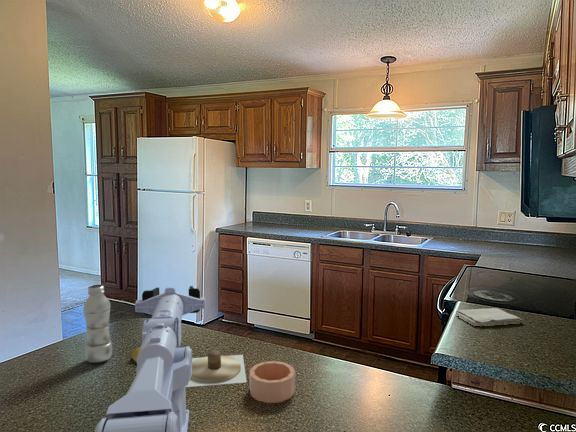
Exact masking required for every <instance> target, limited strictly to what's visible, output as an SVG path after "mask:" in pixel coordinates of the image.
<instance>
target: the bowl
mask: <svg viewBox="0 0 576 432" xmlns="http://www.w3.org/2000/svg"><path fill="white" fill-rule="evenodd" d="M249 393H250V397H252V398H254V400H256V401H258V402H262V403H267V404H273V403H274V404H275V403H283V402H284V401H287V400H289V399H291V398H292V397H293V396H294V394H295V393H296V370H295V369H294V367H293V366H292V365H291V364H290V363H289V364H288V363H287V362H283V361H277V360H272V361H271V360H270V361H269V360H268V361H262V362H259V363H257V364H254V365H253V366H252V367H251V368H250V369H249Z"/></svg>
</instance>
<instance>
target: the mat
mask: <svg viewBox="0 0 576 432" xmlns="http://www.w3.org/2000/svg"><path fill="white" fill-rule="evenodd" d="M228 356H229V357H233V358H235V359H237V360H238V361H239V362H240V364H241V370H240V372H239V373H238V375H236V376H235V377H233V378H231V379H229V380H226V381H222V382H216V383H204V382H199V381H196V380H193V379H192V378H190V381H189V382H188V385H187V386H185V388H193V387H195V388H196V387H207V386H221V385H232V384H245V383H247V376H246V375H247V374H246V367H245V361H244V360H245V359H244V354H234V355H232V354H231V355H228ZM200 358H203V356H202V357H192V362H194V361H195V360H197V359H200Z"/></svg>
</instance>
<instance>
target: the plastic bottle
mask: <svg viewBox="0 0 576 432" xmlns="http://www.w3.org/2000/svg"><path fill="white" fill-rule="evenodd" d="M87 287H88V288H87V290H88V292H87V295H88V298H87V299H86V300H85V303H84V304H83V315H84V319H85V327H86V343H85V349H84V356H85V359H86V360H87V362H88V363H91V364H98V363H103V362H105V361H107V360H109V359H110V358H111V356H112V354H113V344H112V341H111V336H110V334H111V333H110V315H111V314H110V312H111V307H112V306H111V302H110V300H109V299H108V298H107V296H106V295H105V286H104V284H99V283H97V284H93V285H92V284H91V285H89V286H87Z"/></svg>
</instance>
